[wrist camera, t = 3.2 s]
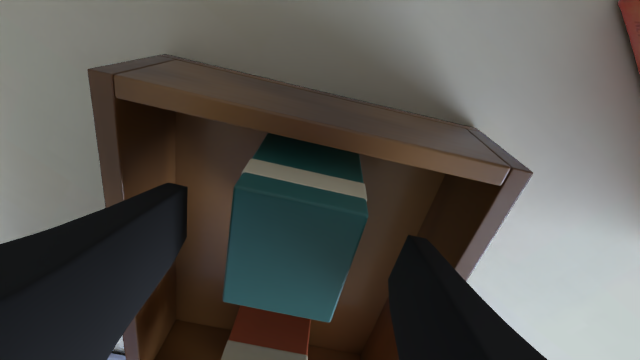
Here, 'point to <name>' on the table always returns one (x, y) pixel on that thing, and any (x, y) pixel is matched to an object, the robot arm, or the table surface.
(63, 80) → the table surface
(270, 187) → the block
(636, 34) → the cracker box
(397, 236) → the tray
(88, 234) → the robot arm
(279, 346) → the rust packet
